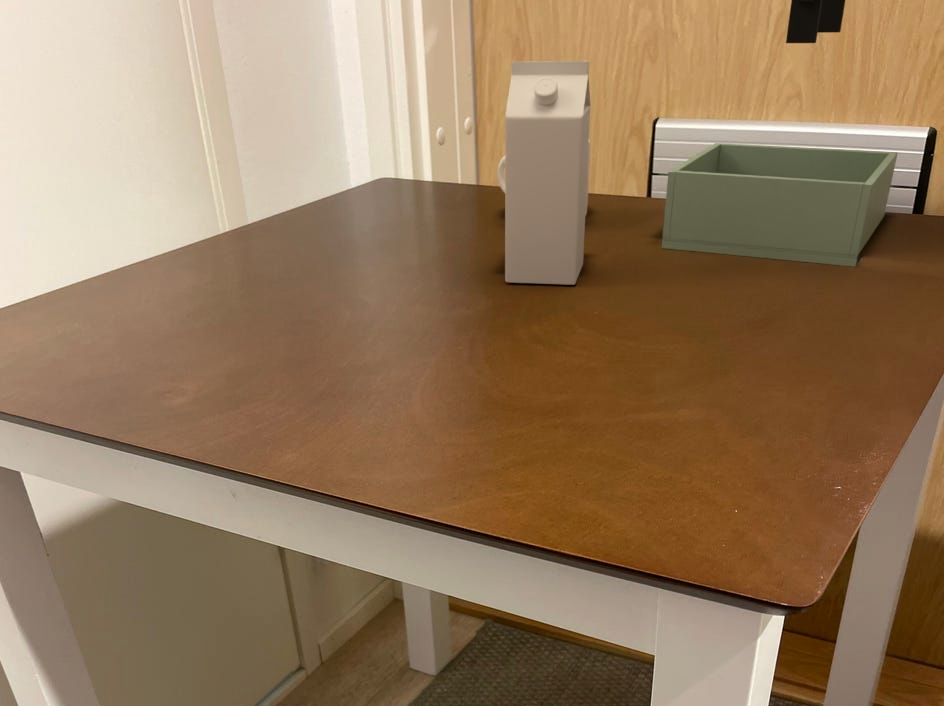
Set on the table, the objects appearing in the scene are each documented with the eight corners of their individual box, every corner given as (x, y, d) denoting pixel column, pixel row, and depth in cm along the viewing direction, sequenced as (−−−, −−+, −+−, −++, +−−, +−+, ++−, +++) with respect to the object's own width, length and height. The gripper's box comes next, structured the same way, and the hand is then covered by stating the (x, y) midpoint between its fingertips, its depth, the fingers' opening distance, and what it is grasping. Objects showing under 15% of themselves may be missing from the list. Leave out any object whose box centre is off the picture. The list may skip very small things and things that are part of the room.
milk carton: (516, 265, 103) (517, 57, 92) (583, 267, 102) (592, 57, 91) (504, 284, 97) (505, 65, 86) (575, 286, 96) (584, 65, 85)
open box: (882, 226, 113) (897, 152, 108) (855, 267, 99) (872, 184, 95) (707, 212, 121) (715, 142, 116) (661, 248, 107) (668, 171, 103)
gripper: (836, -223, 97) (801, 28, 109) (782, -258, 79) (747, 48, 91) (917, -231, 94) (871, 28, 106) (880, -269, 76) (830, 47, 88)
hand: (814, 37), depth 98 cm, fingers open, 13 cm apart
